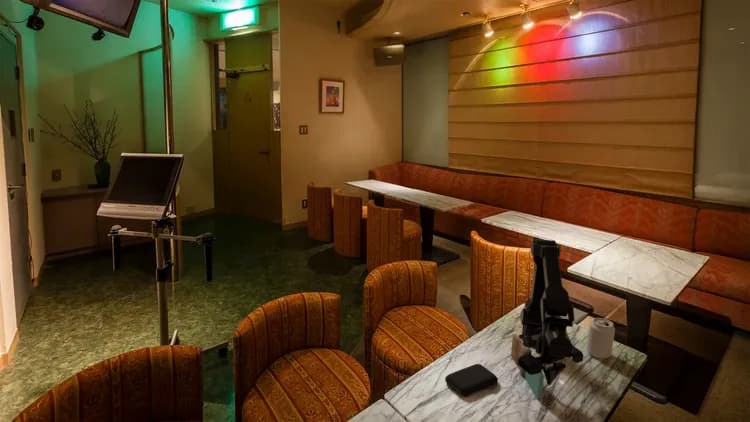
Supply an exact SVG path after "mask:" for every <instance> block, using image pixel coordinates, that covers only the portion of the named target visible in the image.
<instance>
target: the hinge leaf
mask: <svg viewBox="0 0 750 422" xmlns="http://www.w3.org/2000/svg"><path fill="white" fill-rule="evenodd" d="M521 369H522V370H524V369H523V368H521ZM524 379H525V380H526V382H527V384H528V385H529V387H530V389H531V391H532V393H533V394H534V396H535V397H536V399H537V400H541V399H542V398H543V397H542V396H543V388H544V387H543V386H544V380H545V375H544V372H543V371H541V372H540V373H538V374H534V375H530V374H528V373H527V372H526V371H525V377H524Z"/></svg>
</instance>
